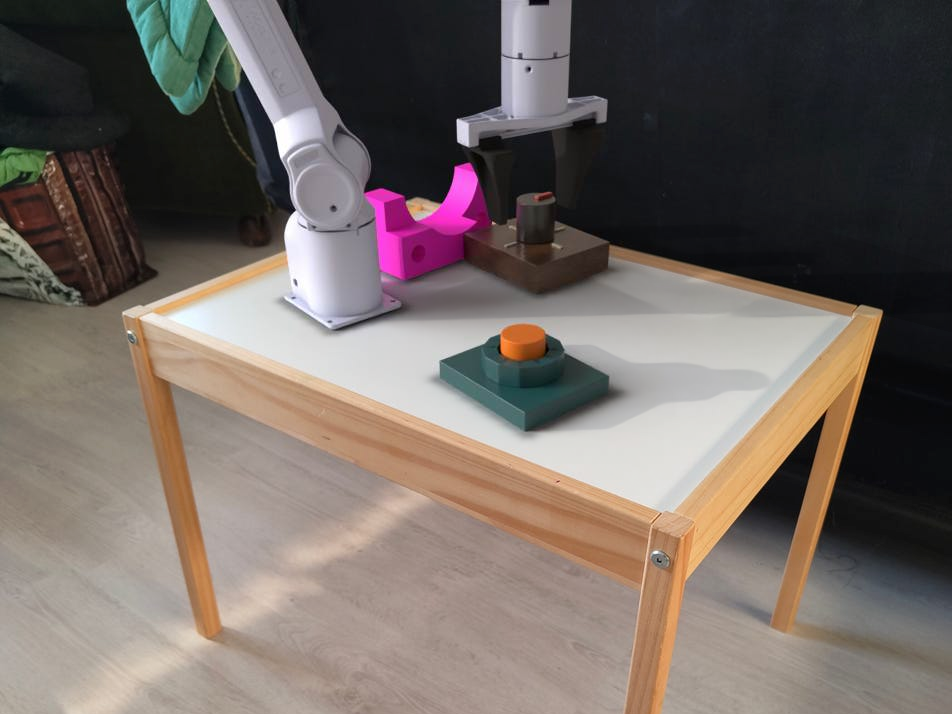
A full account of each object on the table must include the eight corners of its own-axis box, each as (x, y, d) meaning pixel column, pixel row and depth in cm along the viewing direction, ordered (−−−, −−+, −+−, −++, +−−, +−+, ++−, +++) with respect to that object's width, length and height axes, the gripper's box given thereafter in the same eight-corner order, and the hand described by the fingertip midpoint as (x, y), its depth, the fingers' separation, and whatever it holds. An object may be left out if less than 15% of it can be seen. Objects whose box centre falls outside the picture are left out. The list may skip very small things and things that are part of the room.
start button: (491, 351, 73) (491, 332, 72) (525, 338, 75) (525, 319, 74) (520, 367, 70) (520, 347, 69) (554, 354, 72) (555, 334, 71)
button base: (439, 378, 76) (437, 341, 74) (520, 346, 80) (521, 310, 78) (524, 432, 69) (525, 392, 66) (608, 394, 73) (611, 355, 71)
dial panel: (463, 260, 97) (462, 231, 95) (533, 238, 102) (533, 210, 100) (536, 295, 89) (537, 264, 87) (608, 269, 94) (610, 240, 92)
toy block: (404, 280, 92) (399, 208, 88) (367, 264, 96) (360, 194, 92) (507, 242, 100) (507, 174, 96) (470, 228, 104) (468, 162, 100)
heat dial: (533, 246, 91) (534, 205, 89) (508, 236, 94) (508, 195, 92) (562, 237, 93) (563, 196, 91) (537, 227, 96) (538, 187, 94)
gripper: (576, 37, 81) (570, 188, 89) (436, 56, 75) (443, 216, 82) (626, 49, 76) (615, 208, 84) (480, 70, 70) (483, 239, 78)
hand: (532, 213), depth 83 cm, fingers open, 7 cm apart
